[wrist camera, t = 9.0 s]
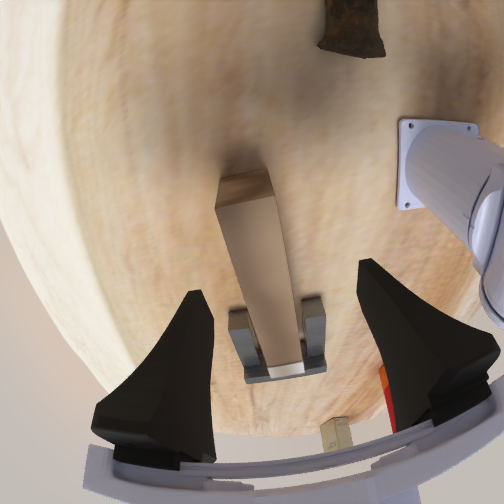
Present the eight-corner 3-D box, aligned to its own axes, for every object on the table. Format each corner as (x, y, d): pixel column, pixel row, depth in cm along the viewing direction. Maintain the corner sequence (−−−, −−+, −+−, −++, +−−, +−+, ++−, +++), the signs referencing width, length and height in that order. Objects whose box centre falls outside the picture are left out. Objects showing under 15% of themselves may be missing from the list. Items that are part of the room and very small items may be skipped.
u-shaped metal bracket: (320, 296, 27) (329, 326, 24) (320, 345, 32) (326, 371, 29) (228, 311, 28) (228, 343, 24) (245, 357, 33) (246, 384, 30)
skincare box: (332, 417, 51) (341, 463, 41) (348, 416, 52) (357, 460, 42) (319, 426, 55) (325, 469, 45) (333, 425, 56) (341, 466, 46)
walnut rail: (267, 168, 19) (276, 197, 15) (297, 335, 31) (304, 372, 26) (219, 178, 20) (213, 210, 15) (267, 340, 31) (271, 378, 27)
